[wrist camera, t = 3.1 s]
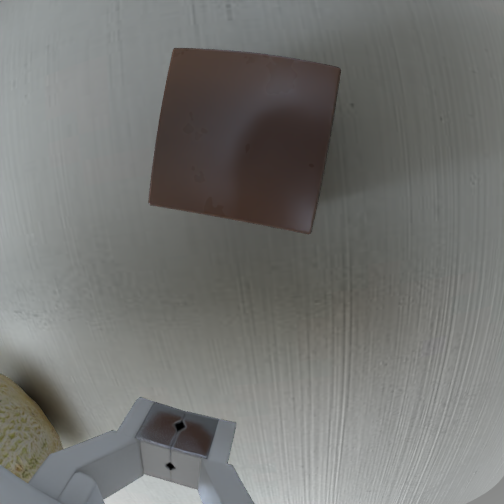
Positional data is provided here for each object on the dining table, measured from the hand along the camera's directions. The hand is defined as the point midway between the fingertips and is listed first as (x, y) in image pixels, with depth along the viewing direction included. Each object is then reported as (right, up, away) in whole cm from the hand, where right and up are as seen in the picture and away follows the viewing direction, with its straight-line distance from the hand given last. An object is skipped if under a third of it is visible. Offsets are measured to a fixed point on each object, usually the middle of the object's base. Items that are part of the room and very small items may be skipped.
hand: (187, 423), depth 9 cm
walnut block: (+2, +10, +5) cm, 11 cm away
